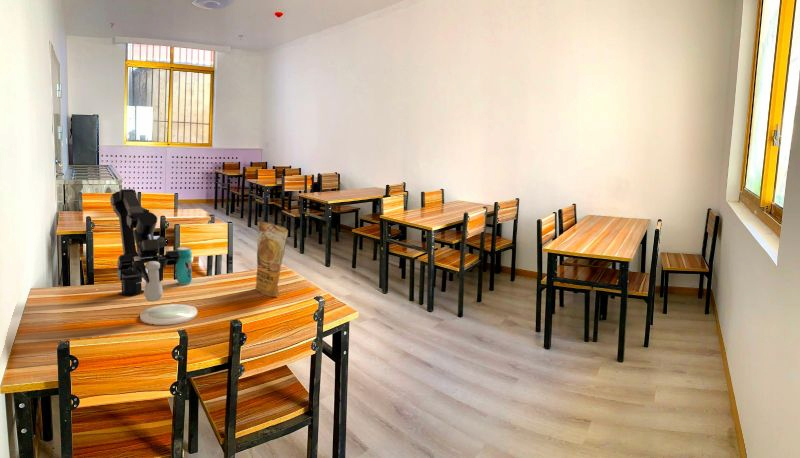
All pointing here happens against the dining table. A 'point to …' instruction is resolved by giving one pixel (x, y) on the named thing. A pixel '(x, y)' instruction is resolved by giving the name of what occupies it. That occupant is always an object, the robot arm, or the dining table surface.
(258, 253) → the pancake mix bag
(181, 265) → the beverage can
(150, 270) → the salt shaker
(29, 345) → the dining table surface
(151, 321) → the dish
